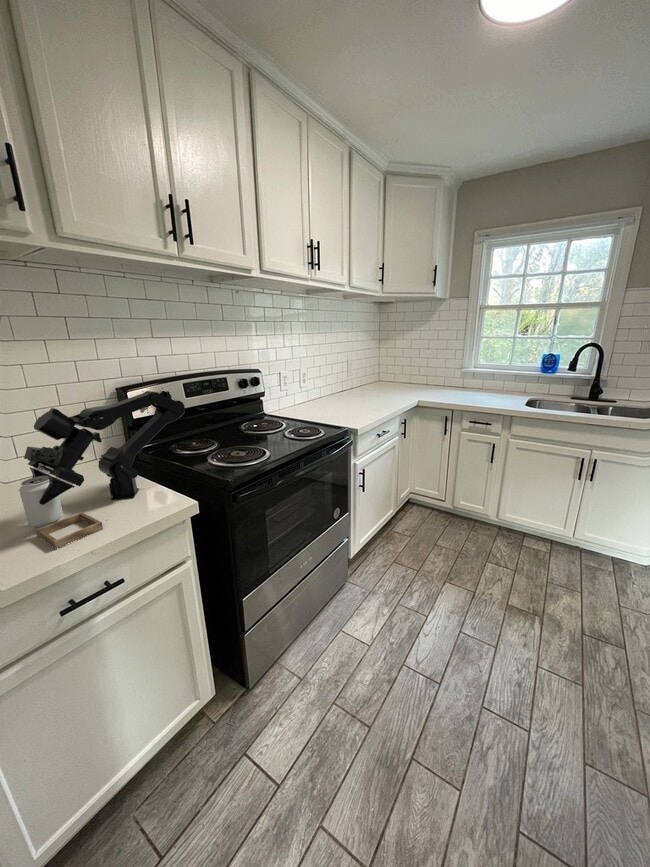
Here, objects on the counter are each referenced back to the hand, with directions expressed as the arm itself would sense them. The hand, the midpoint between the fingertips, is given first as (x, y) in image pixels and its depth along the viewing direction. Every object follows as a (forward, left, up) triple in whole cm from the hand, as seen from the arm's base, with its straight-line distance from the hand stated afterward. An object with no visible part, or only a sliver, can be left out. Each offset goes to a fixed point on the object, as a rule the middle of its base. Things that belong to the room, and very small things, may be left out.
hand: (34, 500), depth 91 cm
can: (-1, -1, -7) cm, 7 cm away
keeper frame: (-9, +5, -8) cm, 13 cm away
